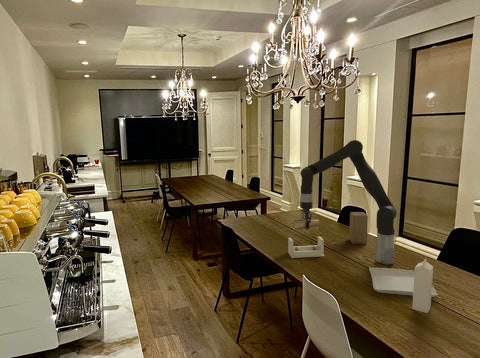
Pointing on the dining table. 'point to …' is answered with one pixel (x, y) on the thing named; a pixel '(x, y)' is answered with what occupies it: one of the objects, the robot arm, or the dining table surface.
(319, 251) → the peg cradle
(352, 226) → the wooden block
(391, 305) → the dining table surface
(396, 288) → the square plate
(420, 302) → the milk
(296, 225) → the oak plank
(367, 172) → the robot arm
